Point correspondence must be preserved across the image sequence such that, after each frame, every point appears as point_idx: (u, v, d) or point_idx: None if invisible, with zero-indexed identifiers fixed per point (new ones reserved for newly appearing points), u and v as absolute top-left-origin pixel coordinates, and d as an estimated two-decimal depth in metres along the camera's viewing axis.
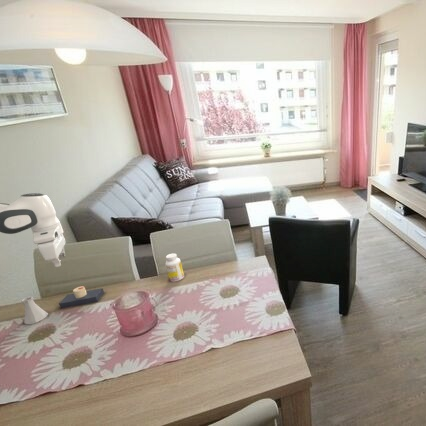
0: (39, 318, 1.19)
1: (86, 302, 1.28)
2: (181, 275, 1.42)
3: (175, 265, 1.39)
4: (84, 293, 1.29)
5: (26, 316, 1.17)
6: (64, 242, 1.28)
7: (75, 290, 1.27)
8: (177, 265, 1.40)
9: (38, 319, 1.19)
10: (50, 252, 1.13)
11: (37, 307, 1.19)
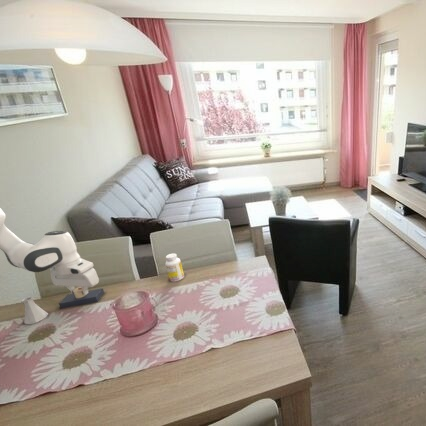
0: (39, 318, 1.19)
1: (86, 302, 1.28)
2: (181, 275, 1.42)
3: (175, 265, 1.39)
4: None
5: (26, 316, 1.17)
6: None
7: (75, 290, 1.27)
8: (177, 265, 1.40)
9: (38, 319, 1.19)
10: (94, 277, 1.25)
11: (37, 307, 1.19)
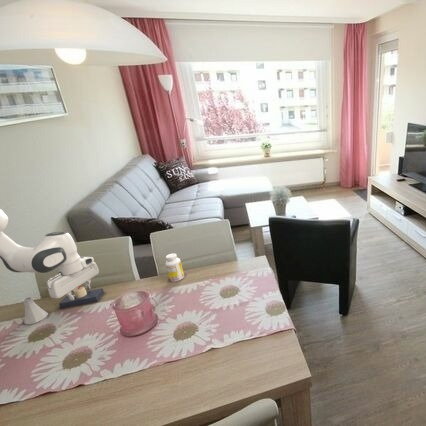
0: (39, 318, 1.19)
1: (86, 302, 1.28)
2: (181, 275, 1.42)
3: (175, 265, 1.39)
4: None
5: (26, 316, 1.17)
6: None
7: (80, 289, 1.28)
8: (177, 265, 1.40)
9: (38, 319, 1.19)
10: None
11: (37, 307, 1.19)
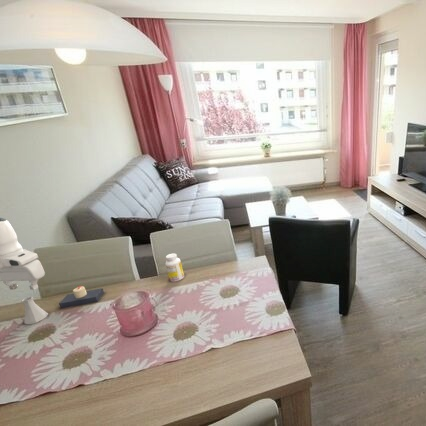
0: (39, 318, 1.19)
1: (86, 302, 1.28)
2: (181, 275, 1.42)
3: (175, 265, 1.39)
4: None
5: (26, 316, 1.17)
6: None
7: (80, 289, 1.28)
8: (177, 265, 1.40)
9: (38, 319, 1.19)
10: (39, 269, 1.12)
11: (37, 307, 1.19)
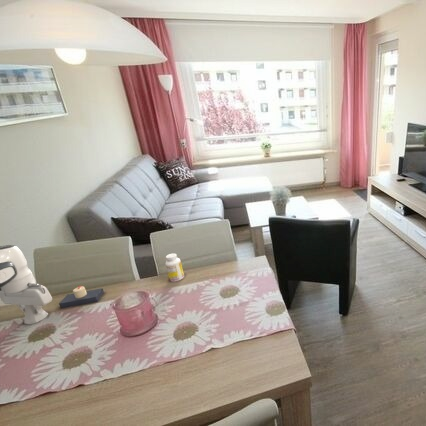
0: (39, 318, 1.19)
1: (86, 302, 1.28)
2: (181, 275, 1.42)
3: (175, 265, 1.39)
4: None
5: (26, 316, 1.17)
6: (37, 303, 1.15)
7: (80, 289, 1.28)
8: (177, 265, 1.40)
9: (38, 319, 1.19)
10: None
11: None
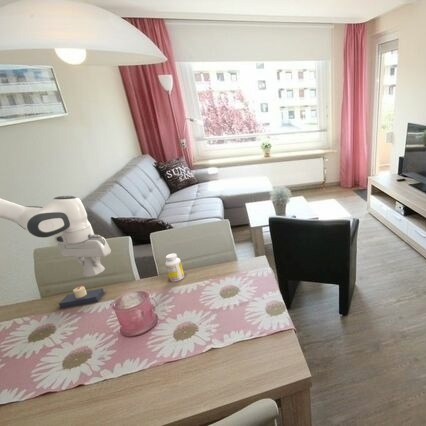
0: (97, 270, 1.21)
1: (86, 302, 1.28)
2: (181, 275, 1.42)
3: (175, 265, 1.39)
4: None
5: (85, 268, 1.19)
6: (97, 255, 1.16)
7: (80, 289, 1.28)
8: (177, 265, 1.40)
9: (97, 272, 1.20)
10: None
11: None
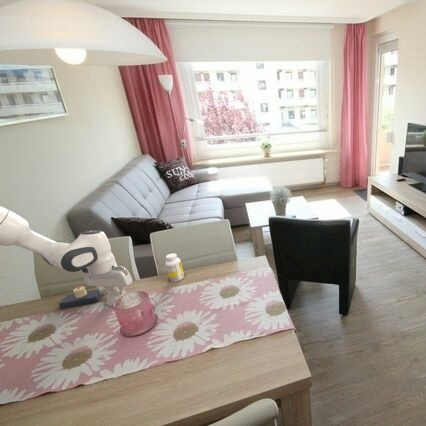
0: None
1: (86, 302, 1.28)
2: (181, 275, 1.42)
3: (175, 265, 1.39)
4: None
5: (108, 298, 1.26)
6: (120, 285, 1.23)
7: (80, 289, 1.28)
8: (177, 265, 1.40)
9: None
10: None
11: (117, 290, 1.28)
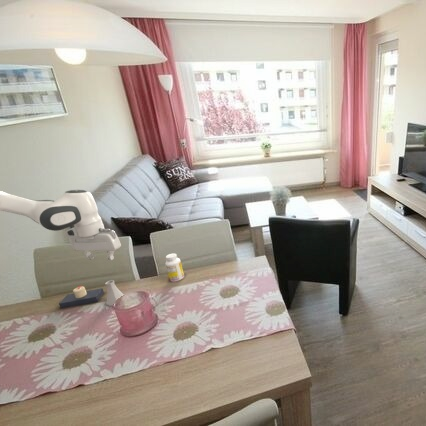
0: None
1: (86, 302, 1.28)
2: (181, 275, 1.42)
3: (175, 265, 1.39)
4: None
5: (108, 298, 1.26)
6: (107, 248, 1.17)
7: (80, 289, 1.28)
8: (177, 265, 1.40)
9: None
10: None
11: (117, 290, 1.28)
